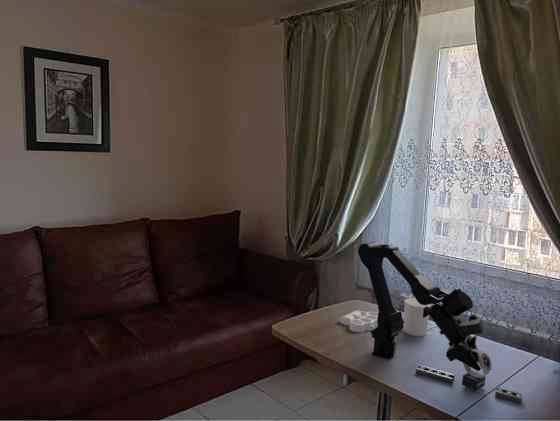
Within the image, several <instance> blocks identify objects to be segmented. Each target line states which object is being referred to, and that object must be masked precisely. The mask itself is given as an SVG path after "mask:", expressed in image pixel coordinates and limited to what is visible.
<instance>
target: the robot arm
mask: <svg viewBox="0 0 560 421" xmlns="http://www.w3.org/2000/svg"><path fill="white" fill-rule="evenodd" d="M357 254H358V256H359V259H360V262H361V263H362V264H363V266H364V267H365V268H366V269H367V271H368V274H369V279H370V282H371V286H372V290H373V294H374V297H375V301H376V304H377V308H378V312H377V313H378V318H377V323H378V327H376V328H374V329H373V330H370V334H371V338H373V339H374V342H373V343H374V344H373V351H372V352H371V355H374V356H376V357H380V358H384V359H387V360H391V359H392V357H394V356H395V354H396V352H397V350H396V349H397V342H396V337H398V336H399V334H400V333H401V332H402V331H404V319H403V314H402V312H401V310H399V311H397V310H396V309H395V308H394V305H393V301H392V298H391V295H390V290H389V287H388V284H387V280H386V277H385V276H386V275H385V273H384V268H383V262H384V259H385V258H386V259H387V260H388V262H389V263H390V264H391V265H392V266H393V267H394V268H395V270H396V271H397V273H399V274H400V276H401V277H402V278H403V279H404V280H405V281H406V282H407V284H408V285H409V287H410V290H411V294H412V295H413V298H416V300H417V301H418V303H420V304H421V305H429V304H431V307H427V306H426V307H425V308H424V309H423V318H425V317H426V316H428V315H429V318H431V320H432V321H433V322H434V324H435V325H436V326H437V327H438V329H439V330H440V331H439V334H440V335H441V336H442V335H444V337H445V338H446V339H447V341H448V345H449V347H448V348H447V350H446V354H445V356H446V358H447V360H448V361H449V362H453V361H454V360H457V361H459V362H460V363H462V364H463V363H464V364H466V365H468V366H470V367H471V369H474V370H475V371H476V372H479V371H481V369H482V368H481V367H480V365H479V361H478V356H477V354H478V353H476V352H472V349H478V346H477V344H476V342H477V338H478V336H477V335H481V334H483V333H484V332H483V331H484V330H485V328H484V325H483V320H482V319H481V318H480V317H478V316H477V315H476V314H471V315H469V317H468V319H466V320H465V321H462V320H461V319H460V318H458V317H459V316H461V315H462V314H464V313H467V311H468V312H469V310H471V309H473V308H474V303H473V300H472V298H471V297H470V295H468V294H467V292H464V291H462V289H461V288H460V287H457V288H455V289H453V290H452V291H451V292H450V293H448V292H447V291H444V290H442V289H441V288H440V287H439V286H438V285H437V284H436V283H434V282H433V281H432V280H431V279H429V278H427V277H425V276H423V275H422V274H421V273H420V272H419V270H417V268H416V267H415V266H414V265H413V264H412V262H410V260H408V258H407V257H406V256H405V255H404V254H403V253H402V251H400V248H399V247H398V246H397V245H395V244H392V245H391V244H381V243H379V242H378V241H371V242H370V241H369V242H364V243H361V244H360V245H359V247H358V248H357ZM440 303H441V304H440ZM456 317H457V318H456ZM472 335H474V336H472Z"/></svg>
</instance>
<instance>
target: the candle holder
mask: <svg viewBox="0 0 560 421" xmlns="http://www.w3.org/2000/svg"><path fill="white" fill-rule="evenodd" d="M426 306H427V307H431V306H432V304H429V305H421V304H420V303H418V301H417V300H416V298H415V297H410V298H409V297H408V298H406V299H405V300H404V311H403V312H404V315H403V316H404V319H403V321H404V323H403V326H404V327H403V331H404V332H405V333H406V334H407V335H410V336H413V337H423V336H426V334H427V331H428V325H429V319H430V316H429V315H428V316H426V317H425V318H423V309H424V308H425V307H426Z"/></svg>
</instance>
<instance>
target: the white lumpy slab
mask: <svg viewBox="0 0 560 421" xmlns="http://www.w3.org/2000/svg"><path fill="white" fill-rule="evenodd" d="M378 313H379V312H377V311H364V310H359V309H357V310H354V311H351V312H350V313H347V314H345V315H343V316H341V317H338V321H339V323H340V324H342V325H346V326H347V327H348V329H349V330H350V331H351V332H354V333H359V332H360V333H361V334H362V333H364V332H365V331H370V332H371V331H372V330H374V329H375V328H377V327H378V323H377V318H378Z"/></svg>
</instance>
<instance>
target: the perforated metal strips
mask: <svg viewBox="0 0 560 421" xmlns="http://www.w3.org/2000/svg"><path fill="white" fill-rule="evenodd" d="M415 375H418V376H422V377H425V378H429V379H431V380H435V381H439V382H442V383H446V384H447V385H448V384H449V385H453V381H454V380H455V374H453V373H450V372H447V371H443V370H440V369H435V368H432V367H428V366H424V365H421V364H418V365H417V367H416V368H415ZM494 397H495V398H496V399H500V400H503V401H507V402H511V403H514V404H516V405H521V404H522V401H523V393H521V392H517V391H513V390H510V389H507V388H504V387H499V386H496V390H495V395H494Z"/></svg>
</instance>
